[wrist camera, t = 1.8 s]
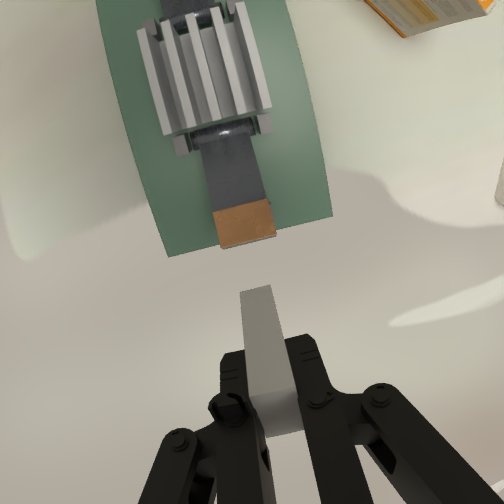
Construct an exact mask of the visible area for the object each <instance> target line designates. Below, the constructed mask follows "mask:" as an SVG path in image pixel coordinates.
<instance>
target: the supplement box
mask: <svg viewBox="0 0 504 504" xmlns="http://www.w3.org/2000/svg"><path fill="white" fill-rule="evenodd" d="M365 1H366V2H367V3H368V4H369V5H370V6H372V7H373V8H374V9H375V10H376V11H377V12H378V13H379V14H380V15H381V16H382V17H383V18H384V19H385V20H386V21H387V22H388V23H389V24H390V25H391V26H392V27H393V28H394V29H395V30H396V31H397V32H398V33H399V34H400V35H401V36H402V37H403V38H405V37H409V36H412V35H415V34H418V33H421V32H425V31H428V30H431V29H435V28H438V27H441V26H445V25H449V24H452V23H456V22H460V21H464V20H468V19H472V18H477V17H482V16H486V15H488V14H489V13H490V12H491V10H492V9H493V7H494V6H495V4H496V3H497V2H498V0H365Z"/></svg>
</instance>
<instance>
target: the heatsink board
mask: <svg viewBox="0 0 504 504" xmlns="http://www.w3.org/2000/svg"><path fill="white" fill-rule="evenodd" d="M214 2H215V3H217V2H221V3H222V6H223V10H224V14H225V19H222V16H221V12H220V9H219V6H218V7H214V8H210V12H211V18H212V22H208V23H204V24H200V25H198V24H197V21H196V18H195V15H194V13H190V14H186V15H185V17H186V21H187V25H188V28H185V29H182V30H178V31H176V30H175V29H174V27H173V25H172V24H171V22H170V21H169V20H166V21H163V22H160V21H159V18H162V17H165V15H164V12H163V9H162V6H161V3H160V0H96V6H97V11H98V16H99V21H100V26H101V31H102V36H103V41H104V45H105V50H106V54H107V59H108V63H109V67H110V71H111V75H112V79H113V83H114V87H115V91H116V95H117V99H118V103H119V106H120V110H121V114H122V117H123V121H124V125H125V128H126V132H127V135H128V138H129V142H130V145H131V149H132V152H133V155H134V158H135V162H136V165H137V168H138V171H139V174H140V178H141V181H142V184H143V187H144V190H145V193H146V196H147V199H148V202H149V205H150V208H151V210H152V213H153V216H154V219H155V222H156V225H157V228H158V231H159V233H160V236H161V239H162V242H163V244H164V247H165V249H166V253H167V255H168V257H172V256H176V255H179V254H184V253H188V252H192V251H195V250H199V249H203V248H207V247H211V246H215V245H219V244H220V242H219V238H218V233H217V229H216V225H215V220H214V216H213V207H212V203H211V198H210V194H209V189H208V185H207V180H206V176H205V171H204V167H203V162H202V157H201V153H200V150H196V151H194V149H193V146H192V143H191V139H190V132H192V131H196V130H199V129H203V128H207V127H210V126H214V125H218V124H222V123H225V122H229V121H233V120H238V119H242V118H246V117H250V116H251V117H252V120H253V124H254V128H255V133H256V135H254V136H250V138H251V142H252V145H253V149H254V153H255V156H256V160H257V163H258V167H259V171H260V175H261V178H262V182H263V186H264V189H265V193H266V197H267V199H268V203H269V206H270V210H271V214H272V218H273V222H274V225H275V229H276V230H278V229H283V228H287V227H291V226H295V225H299V224H303V223H307V222H311V221H315V220H320V219H324V218H327V217H332V216H333V214H332V207H331V200H330V194H329V188H328V182H327V176H326V170H325V165H324V159H323V154H322V149H321V144H320V139H319V134H318V129H317V124H316V119H315V114H314V110H313V105H312V101H311V96H310V92H309V88H308V84H307V79H306V75H305V71H304V67H303V63H302V59H301V55H300V52H299V48H298V44H297V40H296V37H295V33H294V30H293V26H292V23H291V19H290V16H289V12H288V9H287V6H286V2H285V0H214ZM160 23H161V26H160ZM161 27H162V29H161Z"/></svg>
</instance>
